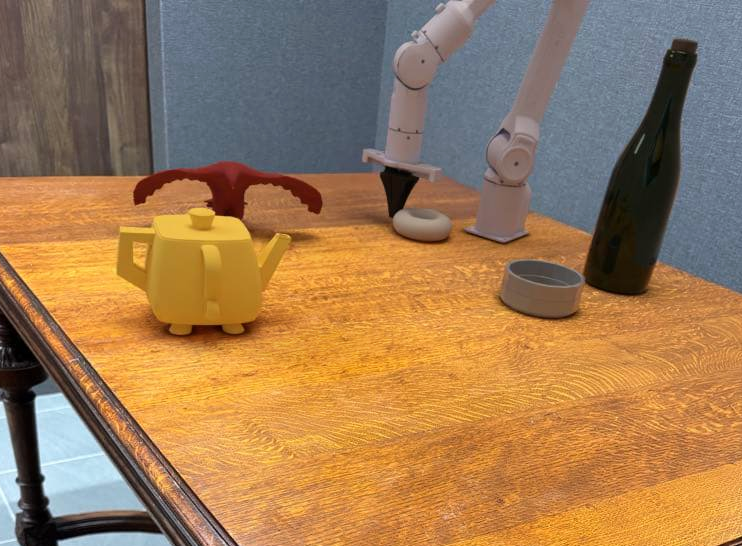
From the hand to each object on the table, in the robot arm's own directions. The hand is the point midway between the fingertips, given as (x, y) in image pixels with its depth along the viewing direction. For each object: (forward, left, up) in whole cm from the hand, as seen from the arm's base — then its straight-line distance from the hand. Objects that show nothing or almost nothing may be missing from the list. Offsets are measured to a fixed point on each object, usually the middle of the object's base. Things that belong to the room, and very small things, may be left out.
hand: (394, 216), depth 138 cm
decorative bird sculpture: (+26, -14, -2) cm, 29 cm away
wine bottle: (-6, +38, -2) cm, 39 cm away
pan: (+13, +34, -1) cm, 37 cm away
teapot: (+53, +8, -2) cm, 54 cm away
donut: (0, +6, -2) cm, 6 cm away
